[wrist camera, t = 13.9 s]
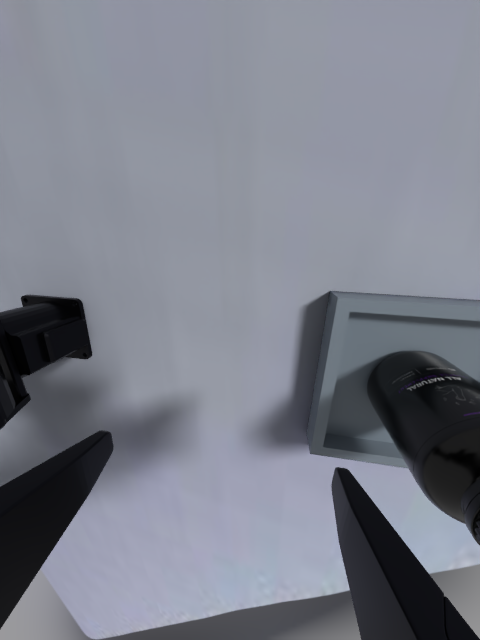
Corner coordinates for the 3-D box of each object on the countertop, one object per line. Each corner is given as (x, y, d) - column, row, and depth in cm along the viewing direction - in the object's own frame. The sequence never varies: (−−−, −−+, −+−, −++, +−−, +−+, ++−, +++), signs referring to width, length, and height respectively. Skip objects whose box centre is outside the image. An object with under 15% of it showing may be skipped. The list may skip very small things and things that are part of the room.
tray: (306, 433, 24) (310, 453, 21) (330, 290, 19) (338, 297, 17) (466, 455, 22) (490, 480, 19) (537, 303, 17) (580, 313, 15)
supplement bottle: (404, 332, 18) (616, 472, 7) (471, 376, 19) (776, 579, 7) (346, 389, 21) (434, 565, 9) (406, 428, 21) (562, 643, 10)
